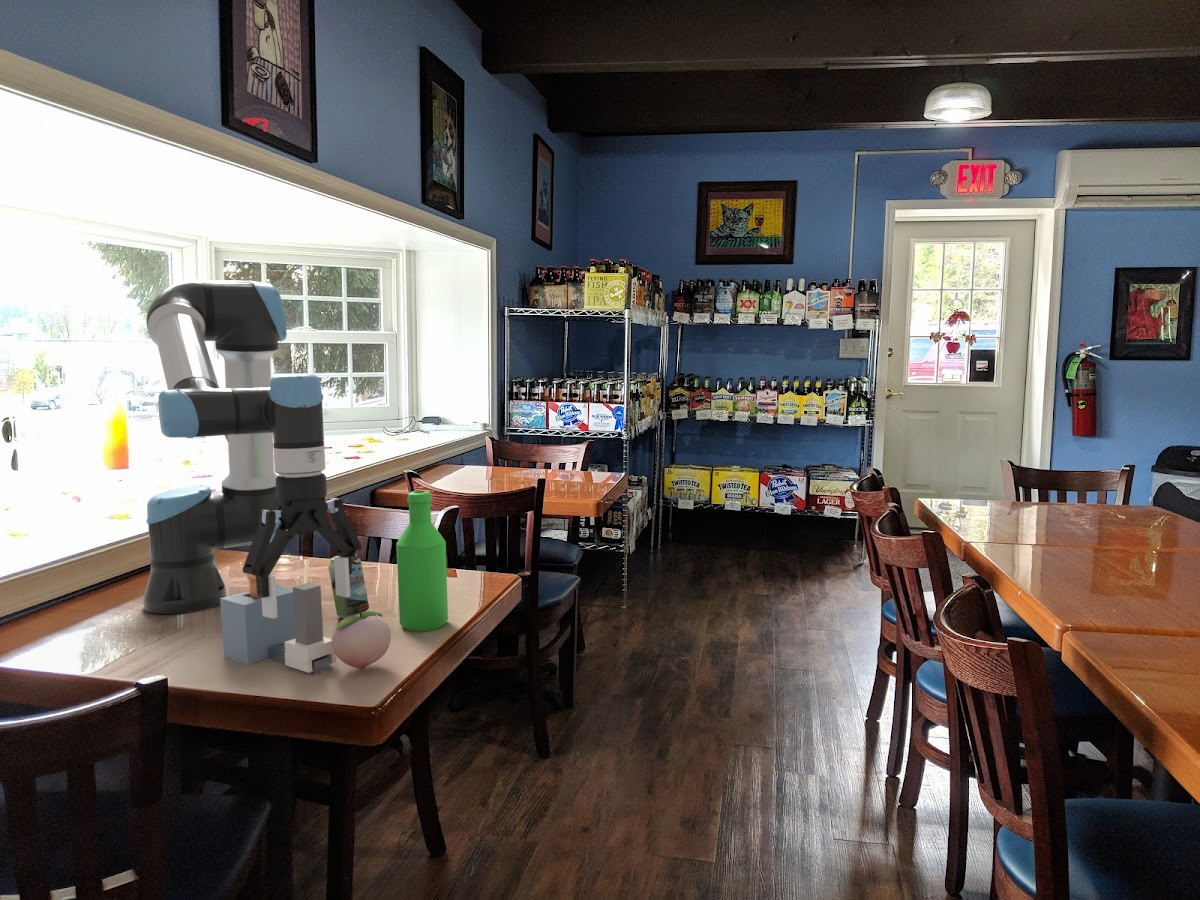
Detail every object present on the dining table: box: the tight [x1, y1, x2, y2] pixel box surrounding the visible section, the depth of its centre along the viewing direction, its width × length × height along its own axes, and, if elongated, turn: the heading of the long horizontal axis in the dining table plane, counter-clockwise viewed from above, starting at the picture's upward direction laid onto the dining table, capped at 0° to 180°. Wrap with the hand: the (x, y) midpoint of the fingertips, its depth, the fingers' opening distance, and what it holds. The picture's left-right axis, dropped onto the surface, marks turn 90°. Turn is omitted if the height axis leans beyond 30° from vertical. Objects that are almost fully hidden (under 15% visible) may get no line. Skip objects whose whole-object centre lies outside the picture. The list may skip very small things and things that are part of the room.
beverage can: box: [328, 553, 370, 619], centre depth 163 cm, size 6×7×12 cm
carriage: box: [284, 582, 337, 673], centre depth 137 cm, size 6×5×13 cm
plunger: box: [246, 574, 262, 599], centre depth 144 cm, size 4×4×5 cm
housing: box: [219, 584, 295, 666], centre depth 144 cm, size 7×10×10 cm
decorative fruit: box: [331, 608, 392, 671], centre depth 136 cm, size 9×8×10 cm
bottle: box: [396, 490, 449, 632], centre depth 156 cm, size 9×9×25 cm
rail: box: [268, 642, 331, 675], centre depth 139 cm, size 12×3×2 cm, turn 55°
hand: (308, 606), depth 136 cm, fingers open, 13 cm apart
